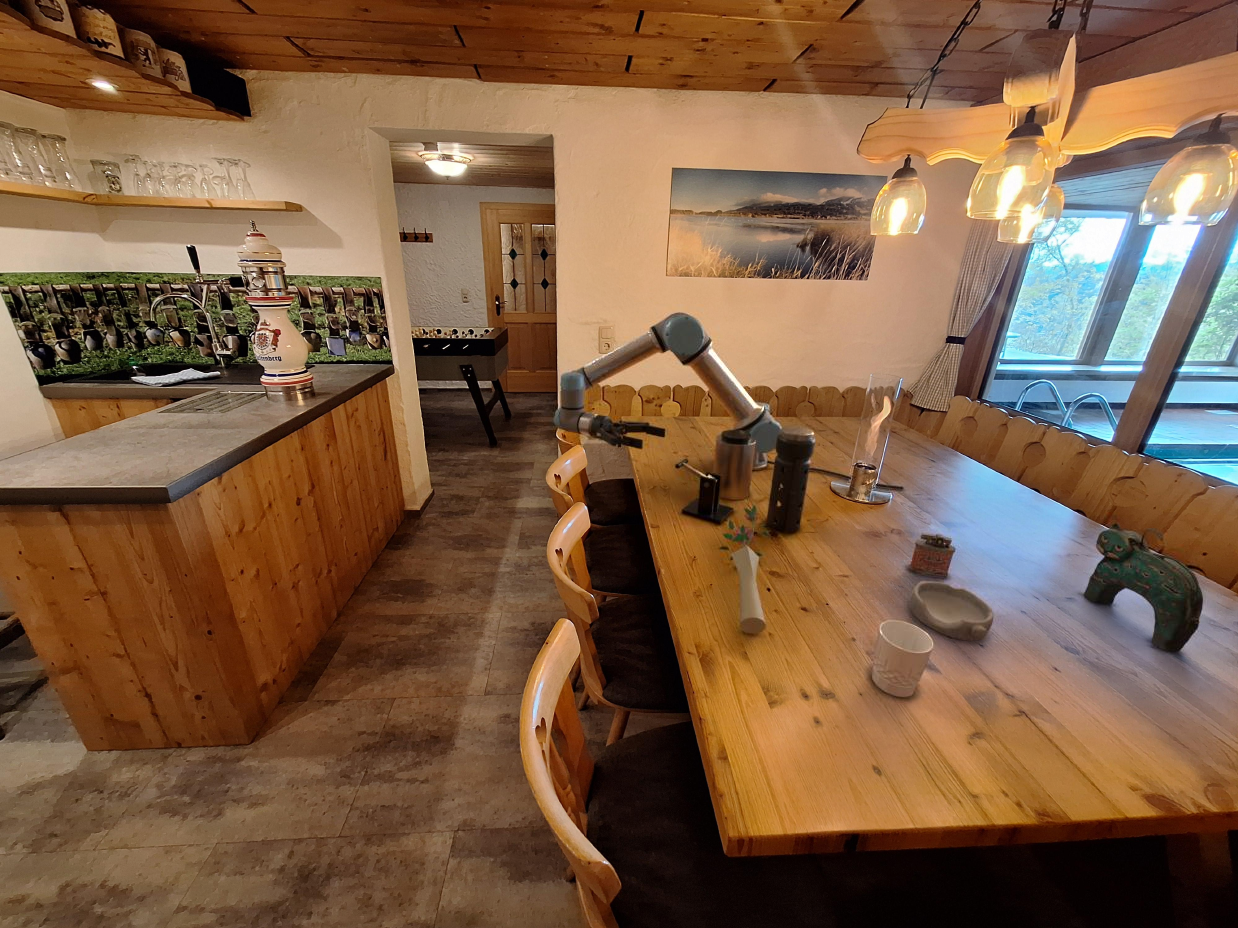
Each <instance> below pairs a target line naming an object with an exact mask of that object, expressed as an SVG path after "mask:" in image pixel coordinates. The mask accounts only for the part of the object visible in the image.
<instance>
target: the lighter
mask: <svg viewBox="0 0 1238 928" xmlns="http://www.w3.org/2000/svg"><path fill="white" fill-rule="evenodd" d="M952 541H953V539H952V537H947V536H943V535H942V534H941V533H937V534H931V533H925V532H922V533H921V535H920V539H916V540H915V543H914V545H915V546H914V550H913V554H912V557H911V561H910V564H909V565H908V570H909V572H911V573H914V574H918V575H922V576H927V577H933V578H940V579H946V578H948V576H949V569H950V566H951V562H952V561H953V560H952V559H953V556H954V553H955V552H956V546H953V545H952Z"/></svg>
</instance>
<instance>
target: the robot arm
mask: <svg viewBox="0 0 1238 928" xmlns="http://www.w3.org/2000/svg"><path fill="white" fill-rule="evenodd" d="M667 352H671V353H672V354H673V355H674V356H675V357H676V359H677V360H678V361H679V362H680V363H681V364H682V365H683V366H685V367H690V368H691V369H692V370H693V372H694V373H695V374H696V375H697V376H698V377H699V379H700V380H701V382H702V383H703V384H704V385H705V386H706V387H707V389H708V390H709V392H711V394H712V395H713V396H714V397H715V398H716V400H717V401H718V402H719V403H720V404H721V406H722V407H723V408H724V409H725V411H726V412H727V413H728V414H729V415H730V417H731V418H732V419H733V428H732V430H741V431H745V432H748V433H750V434H751V437H753V438H754V439H755V440H756V443H755V452H754V460H753V468H752V471H761V470H763V469H766V468H767V467H768V464H770V465H773V466H774V463H775V461H772V460H768V455H767V453H771V452H773V451H774V450H776V449H775V448H776V441H777V436H778V434H779V433H781V428H782V425H781V424H780V423H779V422H778V421H776V419H775V418H774V417H773V416H772V414H771V413H770V404H768V403H765V402H758V401H755V400H753V398H752V397H751V396H750V395H749V393H748V392H747V391H746V389H745V388H744V387H743V385H742V384H741V383H740V382H739V381H738V379H737V378H736V377H735V375H734V374H733V373H732V372H731V370H730V369H729V368H728V367H727V366H726V364H725V363H724V361H723V360H722V359H721V358H720V356H718V354H717V353H716V352H715V350H714V349H713V339H712V338H711V337H710V336H709V335H708V334H707V332H706V331H705V329H704V327H703V325H702V323H701V322H700V321H699V320H698V319H697V318H696V317H694V316H692V315H690V314H688V313H685V312H681V311H680V312H674V313H671V314H670V315H668V316H666V317H665V318H663V319H662V320H661V321H659V322H657V323H656V324H654V325H652V326H650V327H649V329H648V331H647V332H646V333H644V334H642V335H640V336H638V337H636V338H633V340H631V341H629V342H627V343H625V344H623V345H621V346H619V347H617V348H615V349H614V350H612V351H610V352H608V353H605V354H604V355H602V356H601V357H599V358H597V359H594V360H593V361H591V362H589V363H587V364H586V365H583V366H582V367H580V368H578V369H575V370H571V371H570V372H569V371H568V372H565V373H562V374H561V375H560V383H559V386H560V407H559V408H558V409H556V411H554V416H553V423H554V426H555V427H556V428H557V429H559V430H562V431H565V432H567V433H573V434H578V435H582V436H586V437H587V438H594V439H598V440H602V441H604V442H605V443H607V444H608V445H610V446H612V447H617V448H622V446H626V447H631V448H634V449H637V450H642V449H643V446H644V440H643V439H642V438H636V437H632V436H627V434H637V433H638V434H639V433H640V434H642V433H645V434H646V435H649V436H654V437H659V438H666V428H665V427H659V426H654V425H650V422H649V421H646V422H643V421H625V420H619V421H618V422H617V421H616V422H615V421H614V422H613V420H612V418H611V417H609V416H607V415H602V414H598V413H592V412H588V411H585V392H586V391H587V390H589V389H591V388H592V387H594V386H596V385H598V384H600V383H602V382H604V381H606V380H608V379H610V378H612V377H614V376H616V375H617V374H619V373H621V372H623V371H625V370H627V369H629V368H631V367H633V366H634V365H635V366H636V364H639V363H641V362H643V361H644V360H646V359H648V358H650V357H652V356H654V355H656V354H664V353H667ZM809 471H815V472H819V473H820V472H821V473H825V474H829V475H833V476H836V477H840V478H844V479H847V480H851V477H852V476H849V475H845V474H843V473H840V472H835V471H831V470H826V469H822V468H817V467H810V469H809ZM876 483H877V484H876V485H875V487H881V488H887V489H895V490H896V489H897V490H904V486H903V485H892V484H891V485H890V484H884V483H878V482H876Z"/></svg>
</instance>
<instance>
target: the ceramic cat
mask: <svg viewBox="0 0 1238 928" xmlns="http://www.w3.org/2000/svg"><path fill="white" fill-rule="evenodd" d="M1150 531H1152V532H1154V533H1155V534H1156V535H1157V537H1158V538H1159V539H1160V541H1161V542H1162V541H1163V540H1164V537H1163V535H1162V533H1160V531H1158V530H1157V529H1155V528H1147V529H1146V530H1145V531H1144V532H1143V534H1142V535H1141V534H1140V533H1138V532H1136V531H1132V530H1124V529H1123V528H1121V526H1120V525H1119V524H1118V523H1116V522H1115V523H1113V524H1112V525H1111V526H1110V527H1109V528H1108V529H1105V530H1102V531H1101V532H1100V533H1099V535H1098V537H1097V539H1096V542H1095V548H1096V550H1097V552H1099V553H1100V555H1102V556H1104V557H1103V558H1102V559H1101V560H1099V562H1098V563H1097V565H1096V567H1095V568H1094V571H1093V573H1092V574H1091V575H1090V576H1089V579H1088V583H1087V586H1086V588H1085V590H1084V593H1083V596H1084V597H1086V598H1087V599H1089V600H1090V601H1091V602H1093V603H1095V604H1100V605H1113V604H1114V601H1115V599H1116V597H1117V595H1118V594H1119V593H1120V592H1123V590H1125V589H1126V590H1129V591H1132V592H1134V593H1135V594H1137V595H1139V596H1141V597H1142V598H1143V599H1145V601H1147V602H1148V603H1149V605H1150V606H1151V607H1152V609H1153V612H1154V614H1153V615H1154V625H1153V633H1152V638H1151V643H1152V644H1153V645H1154V646H1156V647H1157V648H1159V649H1161V650H1162V651H1164V652H1180V651H1181V650H1182V649H1183V648H1184V647H1185V645H1186V644H1187V643H1188V642H1189V641H1190V639H1191V638H1192V636H1193V635H1194V634H1195V633H1196V631H1197V630H1198V628H1199V626H1200V619H1201V614H1202V611H1203V606H1204V595H1203V592H1202V589H1201V587H1200V584H1199V581H1198V577H1197V576H1196V574H1195V573H1194V572H1193V571H1192V570H1191V569H1190V568H1189V567H1188V566H1187V565H1186V564H1184V563H1183V562H1181V561H1180V560H1178V559H1176V558H1174V557H1171V556H1168V555H1163V554H1160V553H1157V552H1153V551H1151V549H1150V547H1149V544H1148V543H1147V541H1146V539H1145V536H1146V534H1147V532H1150Z"/></svg>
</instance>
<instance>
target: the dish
mask: <svg viewBox="0 0 1238 928" xmlns="http://www.w3.org/2000/svg"><path fill="white" fill-rule="evenodd" d="M909 602H910V603H909V606H910V610H911V612H912V614H913V615H914V616H915V617H916V618H917V620H919V621H920V622H921V623H922V624H924V625H925V626H927V627H929V628H931V629H933V630H934V631H937V632H938V633H940V634H942V635H946V636H948V637H951V638H953V639H957V640H962V641H978V640H981V639H982V638H985V636H986V635H987V634H988V633H989V631H990V630H991V628H992V626H993V623H994V618H995V617H994V616H995V615H994V611H993V608H992V607H991V606H990V605H989V604H988V603H987V602H986V601H984V600H983V599H982V598H980V597H979V596H977V595H976V594H975V593H973V592H971V591H970V590H968V589H966V588H963V587H961V588H960V587H955V586H952V585H950V584H949V583H946V582H940V581H925V580H920V581H918V582H917V583H916V584H915V586H914V588H913V589H912V592H911V595H910V601H909Z"/></svg>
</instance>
